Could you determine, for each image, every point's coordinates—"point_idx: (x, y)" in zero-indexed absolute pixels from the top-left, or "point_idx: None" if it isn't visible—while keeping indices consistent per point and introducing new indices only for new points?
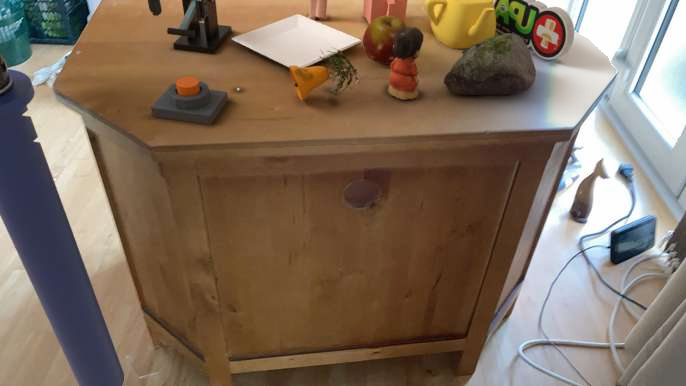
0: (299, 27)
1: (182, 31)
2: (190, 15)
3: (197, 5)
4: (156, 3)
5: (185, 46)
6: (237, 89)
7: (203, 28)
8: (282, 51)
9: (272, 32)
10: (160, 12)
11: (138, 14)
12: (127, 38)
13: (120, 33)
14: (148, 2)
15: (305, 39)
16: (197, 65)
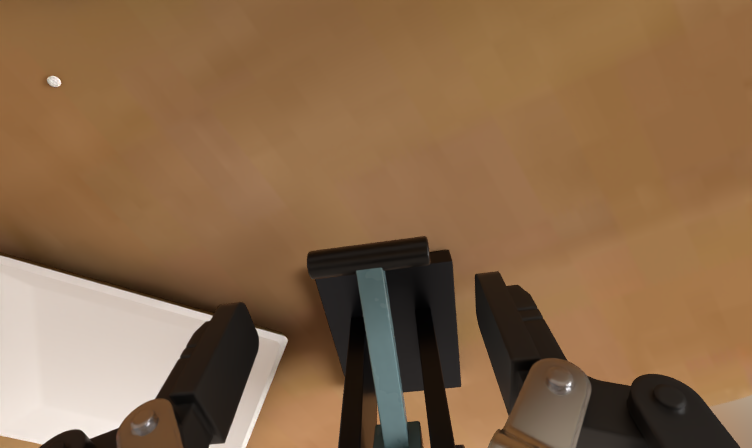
0: None
1: (353, 256)
2: (370, 356)
3: (194, 371)
4: (492, 335)
5: None
6: (52, 77)
7: (416, 365)
8: (137, 338)
9: None
10: (476, 309)
11: None
12: (635, 254)
13: (671, 273)
14: (544, 324)
15: (142, 403)
16: (313, 186)
